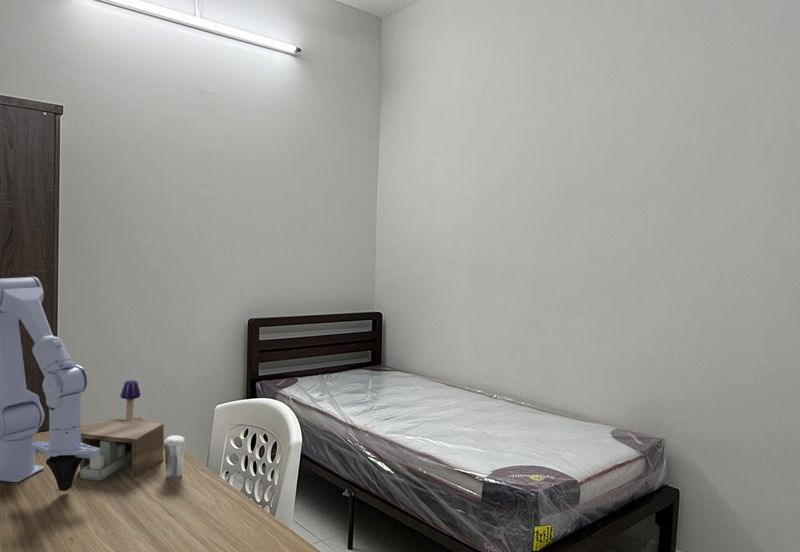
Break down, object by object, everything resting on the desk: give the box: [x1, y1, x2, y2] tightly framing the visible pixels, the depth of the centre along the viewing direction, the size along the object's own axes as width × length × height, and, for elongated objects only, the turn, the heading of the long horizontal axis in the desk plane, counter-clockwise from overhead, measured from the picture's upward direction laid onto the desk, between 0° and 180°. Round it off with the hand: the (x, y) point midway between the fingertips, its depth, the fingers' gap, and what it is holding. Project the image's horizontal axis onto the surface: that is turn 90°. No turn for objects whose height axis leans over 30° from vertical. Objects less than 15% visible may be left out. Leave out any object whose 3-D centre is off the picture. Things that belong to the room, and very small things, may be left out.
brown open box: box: [79, 418, 165, 478], centre depth 137 cm, size 14×11×9 cm
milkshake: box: [163, 434, 188, 479], centre depth 132 cm, size 4×5×10 cm
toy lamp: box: [120, 379, 141, 421], centre depth 149 cm, size 5×5×17 cm
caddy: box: [79, 440, 132, 482], centre depth 134 cm, size 5×12×7 cm, turn 171°
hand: (65, 489), depth 121 cm, fingers closed
